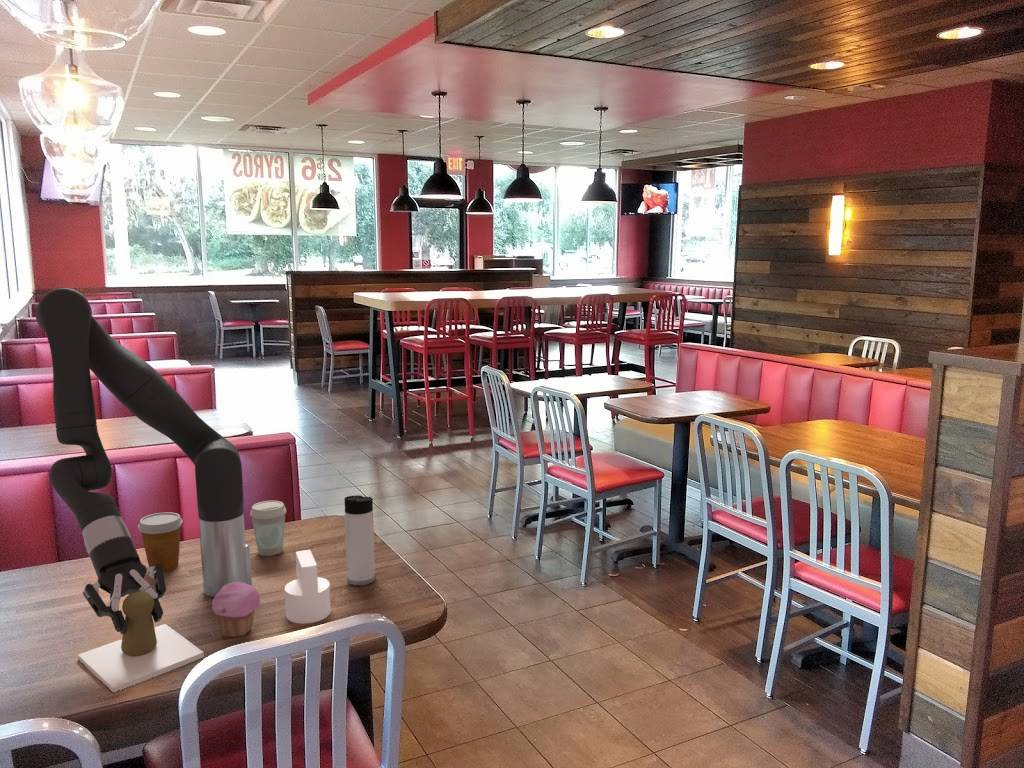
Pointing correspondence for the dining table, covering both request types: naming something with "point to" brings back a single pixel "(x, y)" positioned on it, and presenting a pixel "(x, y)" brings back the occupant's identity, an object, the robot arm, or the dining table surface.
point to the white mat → (140, 660)
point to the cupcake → (235, 608)
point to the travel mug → (359, 540)
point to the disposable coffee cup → (161, 539)
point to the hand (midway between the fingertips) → (142, 625)
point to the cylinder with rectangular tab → (307, 592)
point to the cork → (138, 624)
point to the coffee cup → (268, 526)
